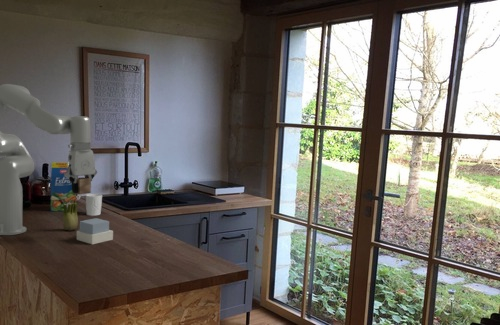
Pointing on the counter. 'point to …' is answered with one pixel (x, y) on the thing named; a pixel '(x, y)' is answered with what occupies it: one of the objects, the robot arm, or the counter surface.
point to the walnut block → (83, 185)
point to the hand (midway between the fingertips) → (81, 191)
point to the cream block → (95, 237)
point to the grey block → (94, 226)
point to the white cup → (93, 204)
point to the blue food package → (60, 187)
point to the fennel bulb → (70, 217)
